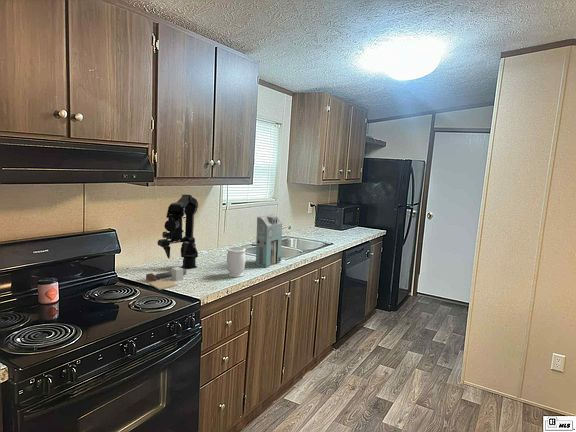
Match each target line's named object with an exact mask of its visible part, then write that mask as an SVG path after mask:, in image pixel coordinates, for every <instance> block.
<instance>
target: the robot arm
mask: <svg viewBox="0 0 576 432" xmlns="http://www.w3.org/2000/svg"><path fill="white" fill-rule="evenodd" d="M198 208H199V202H198V200H197V199H196V198H195V197H193V196H192V195H191V194H181V197H179V199H178V200H177V201H176V202H171V203H170V204H169V206H168V207H167V212H166V218H167V219H168V220H167V221H165V222H164V229H165V231H162V239H158V241H157V246H159V247H161V248H163V250H164V252H165V255H166V258H167V259H168V260H169V259H171V258H170V257H171V246H170V245H172V244H178V243H181V247H180V256H181V258H182V259H183V260H182V266H181V268H183V269H184V268H185V270H189V269H195V268H198V266H197V265H196V262H197V261H196V259H197V258H198V257H199V252H198V249H197V247H196V238H195V237H194V227H195V226H194V225H195V222H194V221H195V214H196V213H197V212H198ZM184 216H185V227H184V228H185V229H183V218H184ZM184 230H185V231H184ZM183 233H184V236H183Z"/></svg>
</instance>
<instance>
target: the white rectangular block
mask: <svg viewBox="0 0 576 432" xmlns="http://www.w3.org/2000/svg"><path fill="white" fill-rule="evenodd" d="M183 269H184V268H183V267H179V266H175V267H171V271H172V277H171V280H173V281H175V282H180V281H183V280H184V275H183Z"/></svg>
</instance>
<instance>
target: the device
mask: <svg viewBox="0 0 576 432" xmlns="http://www.w3.org/2000/svg"><path fill="white" fill-rule="evenodd" d="M282 234H283V222H282V220H281V219H280V217H279V216H278V215H276V214H273V213H272V214H266V215H261V216H257V217H256V242H255V243H256V244H255V245H256V249H255V251H256V252H255V266H256V267H260V268H265V269H266V268H269V267H271V266H274V265H277V264H278V263H281V262H282V240H283V239H282V236H283V235H282Z"/></svg>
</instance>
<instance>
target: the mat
mask: <svg viewBox="0 0 576 432" xmlns="http://www.w3.org/2000/svg"><path fill="white" fill-rule="evenodd" d="M147 284H149V285H150V286H152V287H154V288H155V289H156V290H159V291H161V290H165V289H170V288H174V287H179V284H177V283H175V282H173V281H172V280H170V279H168V278H164V279H157V280H156V281H153V282H149V281H148V283H147Z"/></svg>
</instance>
